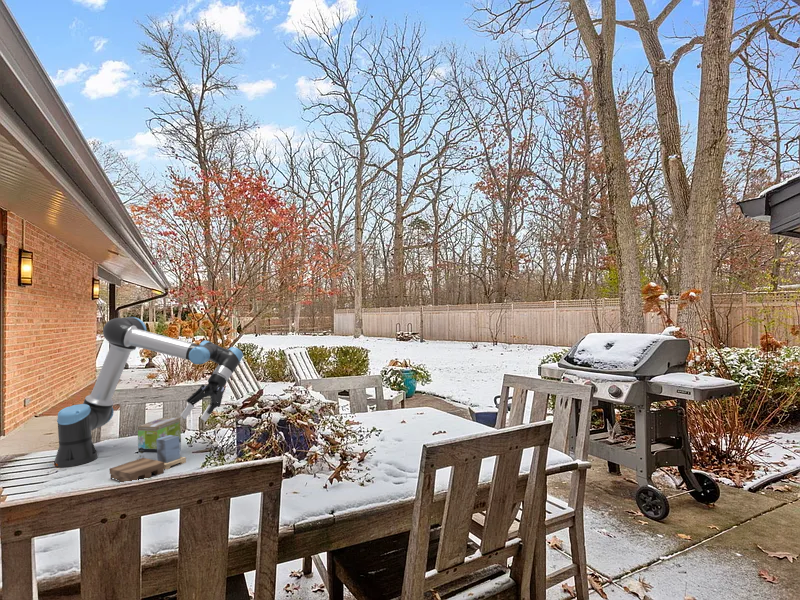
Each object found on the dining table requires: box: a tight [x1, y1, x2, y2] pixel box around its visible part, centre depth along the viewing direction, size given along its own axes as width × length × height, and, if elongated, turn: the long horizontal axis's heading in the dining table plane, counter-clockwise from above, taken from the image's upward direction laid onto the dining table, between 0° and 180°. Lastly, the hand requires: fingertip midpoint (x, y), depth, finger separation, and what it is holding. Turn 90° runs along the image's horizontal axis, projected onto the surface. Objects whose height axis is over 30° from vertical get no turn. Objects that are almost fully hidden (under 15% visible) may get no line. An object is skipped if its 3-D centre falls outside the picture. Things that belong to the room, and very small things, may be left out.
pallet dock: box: [109, 458, 165, 483], centre depth 178 cm, size 14×13×4 cm
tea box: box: [137, 417, 182, 460], centre depth 203 cm, size 15×10×15 cm
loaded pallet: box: [156, 435, 187, 470], centre depth 189 cm, size 9×9×11 cm
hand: (192, 418), depth 199 cm, fingers open, 13 cm apart
